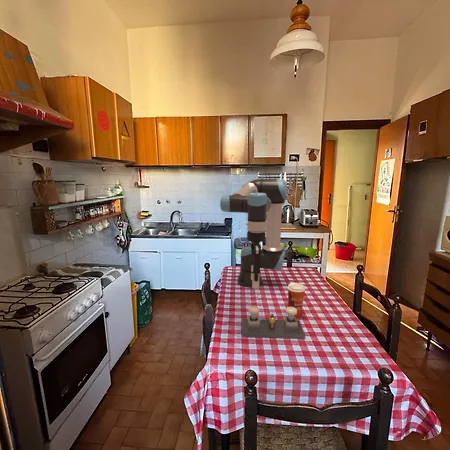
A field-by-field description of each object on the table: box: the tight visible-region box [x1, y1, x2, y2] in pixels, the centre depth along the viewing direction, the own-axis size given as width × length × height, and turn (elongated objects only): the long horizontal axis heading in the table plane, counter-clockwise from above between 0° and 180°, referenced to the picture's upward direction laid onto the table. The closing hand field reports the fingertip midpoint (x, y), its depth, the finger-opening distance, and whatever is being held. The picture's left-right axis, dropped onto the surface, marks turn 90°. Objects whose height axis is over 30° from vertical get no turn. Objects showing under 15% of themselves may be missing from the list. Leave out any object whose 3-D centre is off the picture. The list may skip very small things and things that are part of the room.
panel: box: [241, 315, 306, 340], centre depth 115 cm, size 11×26×5 cm, turn 88°
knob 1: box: [248, 305, 260, 320], centre depth 115 cm, size 5×5×5 cm
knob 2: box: [285, 306, 297, 321], centre depth 114 cm, size 5×5×5 cm
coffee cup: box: [287, 282, 306, 319], centre depth 128 cm, size 8×8×15 cm
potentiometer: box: [268, 313, 276, 328], centre depth 115 cm, size 3×3×6 cm
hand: (254, 283), depth 112 cm, fingers open, 8 cm apart
